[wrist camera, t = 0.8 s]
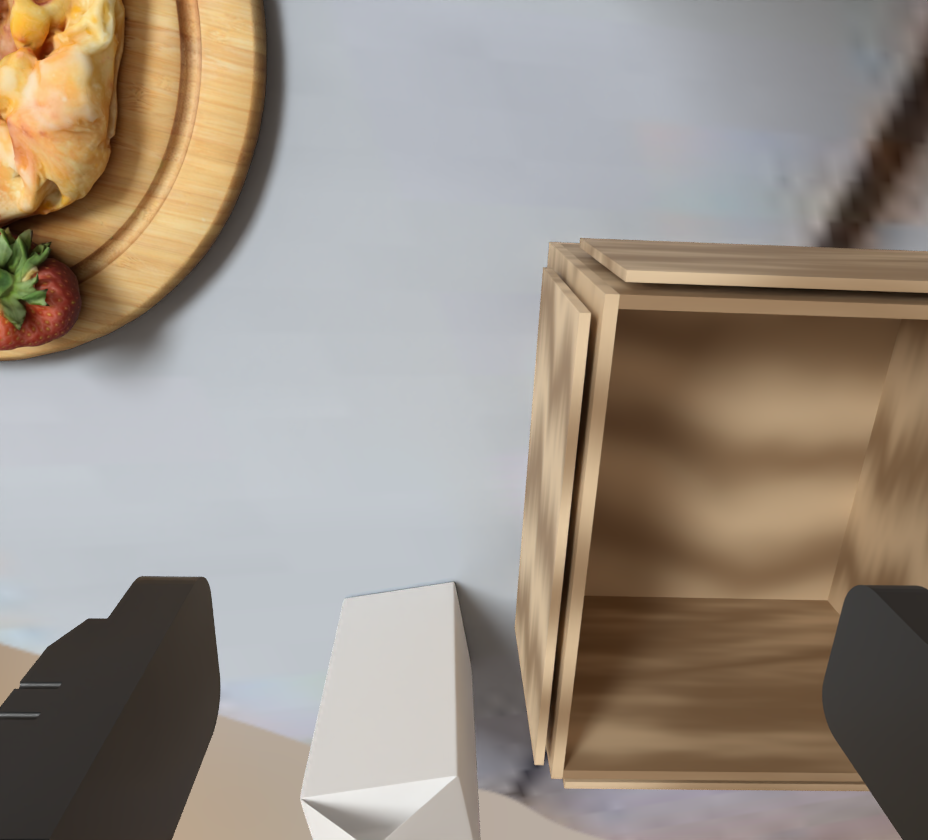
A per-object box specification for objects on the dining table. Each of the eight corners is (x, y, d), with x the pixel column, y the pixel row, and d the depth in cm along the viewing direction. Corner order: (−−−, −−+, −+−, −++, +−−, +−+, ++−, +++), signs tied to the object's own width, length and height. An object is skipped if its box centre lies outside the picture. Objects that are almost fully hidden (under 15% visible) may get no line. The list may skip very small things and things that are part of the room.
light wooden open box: (535, 225, 37) (584, 269, 24) (926, 240, 38) (1178, 291, 25) (507, 606, 46) (532, 791, 33) (828, 612, 47) (978, 795, 33)
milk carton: (454, 578, 45) (461, 862, 27) (472, 669, 47) (489, 982, 30) (343, 595, 45) (277, 888, 27) (366, 684, 48) (320, 1004, 30)
